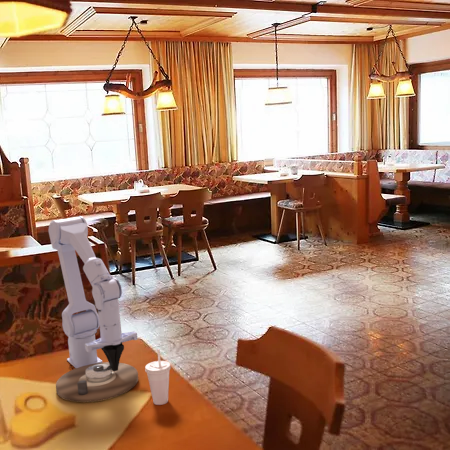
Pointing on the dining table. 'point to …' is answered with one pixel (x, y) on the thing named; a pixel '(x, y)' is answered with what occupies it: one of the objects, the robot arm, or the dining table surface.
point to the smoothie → (158, 380)
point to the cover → (98, 373)
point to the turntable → (96, 384)
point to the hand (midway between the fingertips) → (114, 369)
